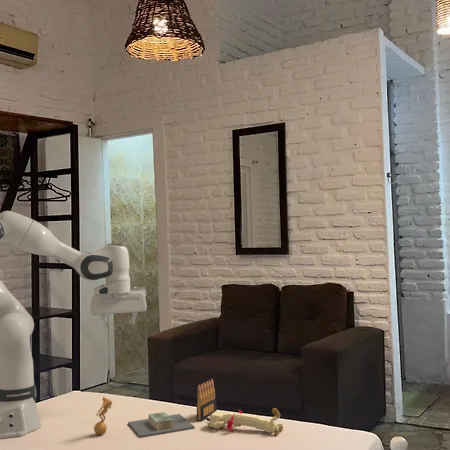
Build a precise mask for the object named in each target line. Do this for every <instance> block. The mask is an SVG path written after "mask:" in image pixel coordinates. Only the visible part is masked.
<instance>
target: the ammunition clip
mask: <svg viewBox="0 0 450 450" xmlns="http://www.w3.org/2000/svg"><path fill="white" fill-rule="evenodd" d="M196 399H197V404H196V421H197V422H203V421H205V420H206V418H207V417H208V416H210V415H211V414H213V413H214V412H216V411H218V409H217V398H216V391H215V384H214V379H213V378H211V379H208V381H207V380H206V382H203V383H200V384H198V385H197V398H196Z"/></svg>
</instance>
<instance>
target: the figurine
mask: <svg viewBox="0 0 450 450" xmlns="http://www.w3.org/2000/svg"><path fill="white" fill-rule="evenodd" d="M102 402H103V403H102V405H101V407H100V408H99V410H98V412H97V413H96V415H95V417H99V418H100V419H101V420H100V421H98V422H96V423H95V424H94V426H93V430H94V431H93V432H94V433H95V434H96V435H99V436H102V435H104V434H105V433H106V432H107V428H108V427H107V424H106V423H105V420H106V415H105V414H107V412H108V410H110V409H111V407H112V404H113V401H112V400H111V399H109V398H107V397H105V396H103V397H102Z"/></svg>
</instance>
